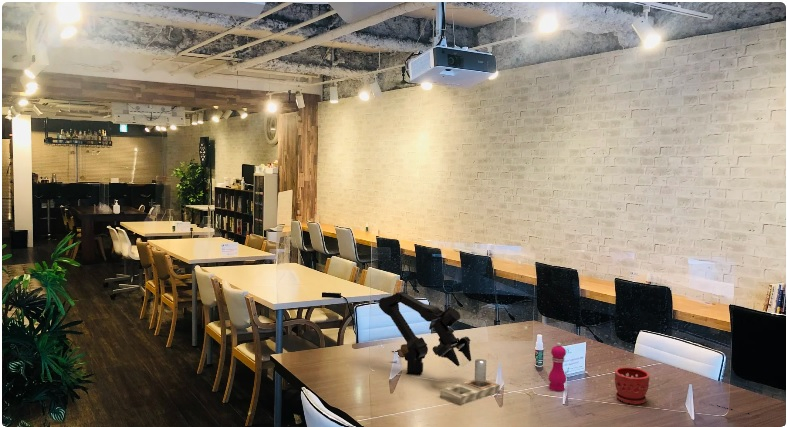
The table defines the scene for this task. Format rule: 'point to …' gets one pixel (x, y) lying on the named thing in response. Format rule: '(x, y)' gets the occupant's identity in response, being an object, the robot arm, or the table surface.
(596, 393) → the table surface
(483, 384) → the silver metal cylinder
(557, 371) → the pepper mill
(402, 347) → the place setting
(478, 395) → the socket board
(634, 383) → the plant pot
